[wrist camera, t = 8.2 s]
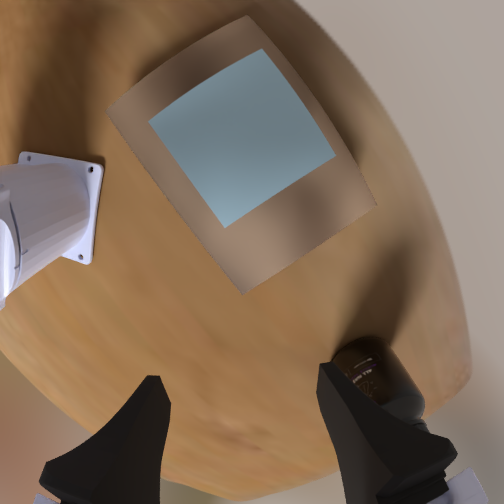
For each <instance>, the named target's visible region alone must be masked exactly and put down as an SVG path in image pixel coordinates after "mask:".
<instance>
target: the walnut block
mask: <svg viewBox="0 0 504 504" xmlns="http://www.w3.org/2000/svg"><path fill="white" fill-rule="evenodd" d="M260 49H263V51H264V52H265V53H266V54H267V55H268V57H269V58H270V59H271V60H272V62H273V63H274V64H275V66H276V67H277V68H278V69H279V71H280V72H281V73H282V75H283V76H284V77H285V79H286V80H287V81H288V83H289V84H290V85H291V87H292V88H293V90H294V91H295V92H296V94H297V95H298V97H299V98H300V100H301V101H302V102H303V104H304V105H305V107H306V108H307V110H308V111H309V113H310V114H311V116H312V117H313V119H314V120H315V122H316V123H317V125H318V127H319V128H320V130H321V131H322V133H323V135H324V136H325V138H326V139H327V141H328V143H329V144H330V146H331V148H332V149H333V151H334V153H335V155H336V156H335V157H333V158H332V159H330V160H329V161H327V162H325V163H324V164H322V165H321V166H319V167H317V168H316V169H314V170H313V171H311V172H309V173H308V174H306V175H305V176H303V177H302V178H300V179H298V180H297V181H295V182H294V183H292V184H291V185H289V186H288V187H286V188H284V189H283V190H281V191H280V192H278V193H277V194H275V195H274V196H272V197H271V198H269V199H268V200H266V201H265V202H263V203H262V204H260V205H259V206H257V207H256V208H254V209H253V210H251V211H250V212H248V213H247V214H245V215H244V216H242V217H241V218H239V219H238V220H236V221H235V222H233V223H232V224H230V225H229V226H227V227H226V228H224V226H223V225H222V224H221V222H220V221H219V220H218V218H217V217H216V215H215V214H214V213H213V211H212V210H211V209H210V207H209V206H208V204H207V203H206V202H205V200H204V199H203V198H202V196H201V195H200V193H199V192H198V191H197V189H196V188H195V187H194V185H193V184H192V182H191V181H190V180H189V178H188V177H187V175H186V174H185V173H184V171H183V170H182V168H181V167H180V166H179V164H178V163H177V162H176V160H175V159H174V157H173V156H172V155H171V153H170V152H169V150H168V149H167V148H166V146H165V145H164V143H163V142H162V141H161V139H160V138H159V136H158V135H157V134H156V132H155V131H154V129H153V128H152V127H151V125H150V124H149V122H148V121H149V120H150V119H152V118H153V117H154V116H155V115H157V114H158V113H159V112H161V111H162V110H163V109H165V108H166V107H167V106H169V105H170V104H171V103H173V102H174V101H176V100H177V99H178V98H180V97H181V96H183V95H184V94H186V93H187V92H188V91H190V90H191V89H193V88H194V87H196V86H197V85H199V84H201V83H202V82H204V81H205V80H207V79H208V78H210V77H212V76H213V75H215V74H216V73H218V72H220V71H221V70H223V69H225V68H227V67H228V66H230V65H232V64H234V63H235V62H237V61H239V60H241V59H243V58H245V57H246V56H248V55H250V54H252V53H254V52H256V51H258V50H260ZM105 112H106V114H107V115H108V117H109V118H110V120H111V121H112V123H113V124H114V126H115V127H116V128H117V130H118V131H119V133H120V134H121V136H122V137H123V138H124V140H125V141H126V143H127V144H128V146H129V147H130V148H131V150H132V151H133V153H134V154H135V155H136V157H137V158H138V160H139V161H140V162H141V164H142V165H143V167H144V168H145V169H146V171H147V172H148V173H149V175H150V176H151V177H152V179H153V180H154V182H155V183H156V184H157V186H158V187H159V188H160V190H161V191H162V192H163V194H164V195H165V196H166V198H167V199H168V200H169V202H170V203H171V204H172V206H173V207H174V208H175V210H176V211H177V212H178V214H179V215H180V216H181V218H182V219H183V220H184V222H185V223H186V224H187V226H188V227H189V228H190V229H191V231H192V232H193V233H194V235H195V236H196V237H197V239H198V240H199V241H200V242H201V244H202V245H203V246H204V248H205V249H206V250H207V251H208V253H209V254H210V255H211V256H212V258H213V259H214V260H215V262H216V263H217V264H218V265H219V267H220V268H221V269H222V270H223V272H224V273H225V274H226V275H227V277H228V278H229V279H230V280H231V282H232V283H233V284H234V285H235V287H236V288H237V289H238V290H239V291H240V293H241V294H242V295H243V294H245V293H247V292H248V291H250V290H251V289H253V288H254V287H256V286H258V285H259V284H261V283H262V282H264V281H265V280H267V279H268V278H270V277H272V276H273V275H275V274H276V273H278V272H279V271H281V270H282V269H284V268H285V267H287V266H288V265H290V264H292V263H293V262H295V261H296V260H298V259H299V258H301V257H302V256H304V255H305V254H307V253H308V252H310V251H311V250H313V249H314V248H316V247H317V246H319V245H320V244H322V243H323V242H325V241H326V240H328V239H329V238H330V237H332V236H333V235H335V234H336V233H338V232H339V231H341V230H342V229H344V228H345V227H347V226H348V225H349V224H351V223H352V222H354V221H355V220H357V219H358V218H360V217H361V216H362V215H364V214H365V213H367V212H368V211H370V210H371V209H372V208H374V207H375V206H377V203H376V201H375V199H374V197H373V195H372V193H371V191H370V189H369V187H368V185H367V183H366V181H365V179H364V177H363V175H362V173H361V172H360V170H359V168H358V166H357V164H356V162H355V161H354V159H353V157H352V155H351V153H350V152H349V150H348V148H347V147H346V145H345V143H344V142H343V140H342V138H341V137H340V135H339V133H338V132H337V130H336V128H335V127H334V125H333V124H332V122H331V120H330V119H329V117H328V116H327V114H326V113H325V111H324V110H323V108H322V107H321V105H320V104H319V102H318V101H317V99H316V98H315V97H314V95H313V94H312V92H311V91H310V89H309V88H308V87H307V85H306V84H305V83H304V81H303V80H302V78H301V77H300V76H299V74H298V73H297V72H296V70H295V69H294V68H293V67H292V65H291V64H290V63H289V61H288V60H287V59H286V58H285V56H284V55H283V54H282V53H281V52H280V50H279V49H278V48H277V47H276V46H275V44H274V43H273V42H272V41H271V40H270V39H269V37H268V36H267V35H266V34H265V33H264V32H263V31H262V30H261V28H260V27H259V26H258V25H257V24H256V23H255V22H254V21H253V20H252V19H251V18H250V17H249V16H248V15H246V16H244V17H242V18H239V19H237V20H235V21H233V22H231V23H229V24H227V25H225V26H223V27H222V28H220V29H218V30H216V31H214V32H212V33H211V34H209V35H207V36H205V37H203V38H202V39H200V40H198V41H197V42H195V43H193V44H192V45H190V46H189V47H187V48H185V49H184V50H182V51H181V52H179V53H178V54H176V55H175V56H173V57H172V58H170V59H169V60H167V61H166V62H164V63H163V64H162V65H160V66H159V67H157V68H156V69H155V70H153V71H152V72H151V73H149V74H148V75H147V76H145V77H144V78H143V79H142V80H140V81H139V82H138V83H137V84H135V85H134V86H133V87H132V88H130V89H129V90H128V91H127V92H126V93H124V94H123V95H122V96H121V97H120V98H119V99H118V100H116V101H115V102H114V103H113V104H112V105H111V106H110V107H109V108H108V109H107V110H105Z"/></svg>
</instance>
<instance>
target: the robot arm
mask: <svg viewBox="0 0 504 504" xmlns="http://www.w3.org/2000/svg"><path fill="white" fill-rule="evenodd" d="M30 156H31V160H30ZM91 167H93V172H91V171H90V168H91ZM103 172H104V168H103V166H102V165H101V164H97V163H92V162H87V161H81V160H76V159H70V158H64V157H58V156H52V155H46V154H40V153H33V152H26V151H24V152H21V153H20V155H19V160H18V163H17V164H10V165H4V166H0V310H1V309H2V308H4V307H5V299H6V297H7V296H8V295H9V294H10V293H11V292H12V291H13V290H14V289H16V288H17V287H18V286H20V285H21V284H22V283H23V282H25V281H26V280H27V279H29V278H30V277H31V276H33V275H34V274H35V273H37V272H38V271H39V270H41V269H42V268H44V267H45V266H46V265H48V264H49V263H51V262H52V261H54V260H55V259H56V258H58V257H59V256H63V257H66V258H69V259H72V260H75V261H78V262H81V263H84V264H89V263H91V262H92V259H93V245H94V234H95V225H96V216H97V209H98V202H99V195H100V189H101V183H102V178H103ZM80 254H81V255H82V256H83V258H81V256H80ZM316 394H317V398H318V402H319V407H320V411H321V414H322V416H323V419H324V422H325V424H326V427H327V430H328V432H329V435H330V438H331V440H332V443H333V445H334V448H335V451H336V455H337V459H338V463H339V467H340V471H341V476H342V481H343V486H344V492H345V498H346V503H347V504H487V503H488V502H489V500H488V498H487V496H486V494H485V492H484V490H483V488H482V486H481V484H480V483H479V481H478V479H477V477H476V475H475V474H474V472H473V470H472V468H471V467H468V468H467V469H466V470H464V471H462V472H461V473H459V474H457V475H456V476H454V477H453V478H451V479H450V480H448V481H447V482H445V480H444V478H445V477H446V473H445V471H444V470H445V469H446V468H447V467H448V466H449V465H450V463H452V462H453V461H454V459H455V458H456V456H457V454H458V453H457V451H456V449H455V448H454V446H453V444H452V443H451V441H450V440H449V439H448V438H444V437H441V436H438V435H434V434H431V433H428V432H426V431H423V430H421V429H418V428H416V427H414V426H412V425H410V424H408V423H406V422H404V421H402V420H400V419H399V418H397V417H395V416H394V415H392V414H391V413H389V412H388V411H386V410H385V409H383V408H382V407H380V406H379V405H378V404H377V403H375V402H374V401H373V400H372V399H370V398H369V397H368V396H367V395H366V394H365V393H363V392H362V391H361V390H360V389H359V388H358V387H357V386H356V385H355V384H354V383H353V382H352V381H351V380H350V379H349V378H348V377H347V376H346V375H345V374H344V373H343V372H342V371H341V370H340V368H339V367H338V366H337V365H336V364H335V363H334V362H333V361H332V362H327V363H321V364H320V365H319V374H318V383H317V391H316ZM170 411H171V402H170V400H169V398H168V395H167V393H166V390H165V388H164V386H163V383H162V381H161V378H160V376H151V375H147V376H146V378H145V379H144V380H143V381H142V383H141V384H140V385H139V387H138V388H137V389H136V390H135V392H134V393H133V394H132V396H131V397H130V398H129V399H128V400H127V402H126V403H125V404H124V405H123V406H122V408H121V409H120V410H119V411H118V412H117V413H116V414H115V415H114V416H113V418H112V419H111V420H110V421H109V422H108V423H107V424H106V425H105V426H104V427H102V428H101V429H100V430H99V431H98V432H97V433H96V434H94V435H93V436H92V437H90V438H89V439H88V440H86V441H85V442H84V443H82V444H81V445H79V446H78V447H76V448H74V449H73V450H71V451H69V452H67V453H66V454H64V455H62V456H59V457H57V458H55V459H53V460H50V461H48V462H46V464H45V467H44V469H43V472H42V474H41V477H40V479H39V483H40V485H41V486H43V487H44V488H45V489H46V490H48V491H49V492H50V493H52V494H53V495H55V496H56V497H57V498H59V499H60V500H61V503H60V504H160V471H161V461H162V456H163V451H164V446H165V441H166V437H167V432H168V427H169V422H170ZM33 504H59V503H57V502H55V501H53V500H51V499H49V498H47V497H45V496H43V495H41V494H39V493H37V494H36V497H35V500H34V503H33Z"/></svg>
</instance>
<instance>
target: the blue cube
mask: <svg viewBox="0 0 504 504" xmlns="http://www.w3.org/2000/svg"><path fill="white" fill-rule="evenodd" d="M148 122H149V124H150V125H151V127H152V128H153V129H154V131H155V132H156V134H157V135H158V136H159V138H160V139H161V141H162V142H163V143H164V145H165V146H166V148H167V149H168V150H169V152H170V153H171V155H172V156H173V157H174V159H175V160H176V162H177V163H178V164H179V166H180V167H181V168H182V170H183V171H184V173H185V174H186V175H187V177H188V178H189V180H190V181H191V182H192V184H193V185H194V187H195V188H196V189H197V191H198V192H199V193H200V195H201V196H202V198H203V199H204V200H205V202H206V203H207V204H208V206H209V207H210V209H211V210H212V211H213V213H214V214H215V215H216V217H217V218H218V220H219V221H220V222H221V224H222V225H223V226H224V228H226V227H227V226H229V225H230V224H232V223H233V222H235V221H236V220H238V219H239V218H241V217H242V216H244V215H245V214H247V213H248V212H250V211H251V210H253V209H254V208H256V207H257V206H259V205H260V204H262V203H263V202H265V201H266V200H268V199H269V198H271V197H272V196H274V195H275V194H277V193H278V192H280V191H281V190H283V189H284V188H286V187H288V186H289V185H291V184H292V183H294V182H295V181H297V180H298V179H300V178H302V177H303V176H305V175H306V174H308V173H309V172H311V171H313V170H314V169H316V168H317V167H319V166H321V165H322V164H324V163H325V162H327V161H329V160H330V159H332V158H333V157H335V156H336V155H335V153H334V151H333V149H332V148H331V146H330V144H329V143H328V141H327V139H326V138H325V136H324V135H323V133H322V131H321V130H320V128H319V127H318V125H317V123H316V122H315V120H314V119H313V117H312V116H311V114H310V113H309V111H308V110H307V108H306V107H305V105H304V104H303V102H302V101H301V100H300V98H299V97H298V95H297V94H296V92H295V91H294V90H293V88H292V87H291V85H290V84H289V83H288V81H287V80H286V79H285V77H284V76H283V75H282V73H281V72H280V71H279V69H278V68H277V67H276V66H275V64H274V63H273V62H272V60H271V59H270V58H269V57H268V55H267V54H266V53H265V52H264V51H263V49H260V50H258V51H256V52H254V53H252V54H250V55H248V56H246V57H245V58H243V59H241V60H239V61H237V62H235V63H234V64H232V65H230V66H228V67H227V68H225V69H223V70H221V71H220V72H218V73H216V74H215V75H213V76H212V77H210V78H208V79H207V80H205V81H204V82H202V83H201V84H199V85H197V86H196V87H194V88H193V89H191V90H190V91H188V92H187V93H186V94H184V95H183V96H181V97H180V98H178V99H177V100H176V101H174V102H173V103H171V104H170V105H169V106H167V107H166V108H165V109H163V110H162V111H161V112H159V113H158V114H157V115H155V116H154V117H153V118H152V119H150V120H149V121H148Z"/></svg>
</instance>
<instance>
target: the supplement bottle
mask: <svg viewBox="0 0 504 504" xmlns="http://www.w3.org/2000/svg"><path fill="white" fill-rule="evenodd" d="M333 362H334V363H335V364H336V365H337V366H338V367H339V368H340V370H341V371H342V372H343V373H344V374H345V375H346V376H347V377H348V378H349V379H350V380H351V381H352V382H353V383H354V384H355V385H356V386H357V387H358V388H359V389H360V390H361V391H362V392H363V393H365V394H366V395H367V396H368V397H369V398H370V399H372V400H373V401H374V402H375V403H377V404H378V405H379V406H380V407H382V408H383V409H385V410H386V411H388V412H389V413H391V414H392V415H394V416H395V417H397V418H399V419H400V420H402V421H404V422H406V423H408V424H410V425H412V426H414V427H416V428H418V429H421V430H423V431H426V432H428V433H430V432H429V430H428V429H427V427H426V426H427V425H426V423H425V421H424V420H423V419H421V417H422V415H423V413H424V409H425V400H424V397H423V396H422V394H421V392H420V390H419V389H418V387H417V386H416V384H415V383H414V381H413V380H412V378H411V377H410V375H409V373H408V372H407V370H406V369H405V367H404V366H403V364H402V363H401V361H400V360H399V358H398V357H397V356H396V354H395V353H394V351H393V350H392V348H391V347H390V346H389V344H388V343H387V342H386V341H385V340H383V339H381V338H377V337H366V338H361V339H358V340H356V341H354V342H352V343H350V344H348V345H347V346H345V347H344V348H343V349H342V350H341V351H340V352H339V353H338V354H337V355H336V356H335V358H334V359H333Z"/></svg>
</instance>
